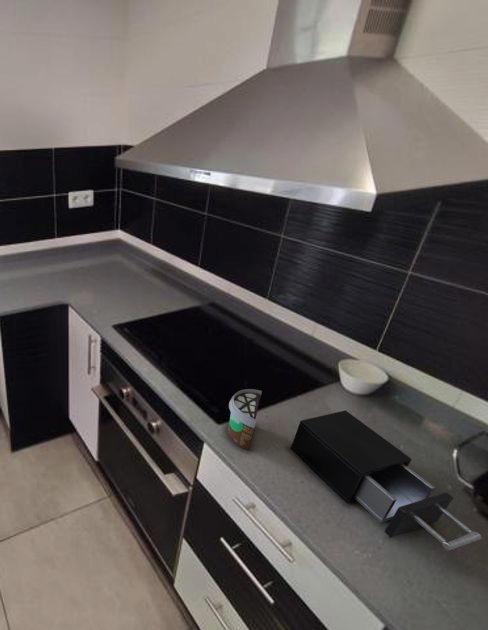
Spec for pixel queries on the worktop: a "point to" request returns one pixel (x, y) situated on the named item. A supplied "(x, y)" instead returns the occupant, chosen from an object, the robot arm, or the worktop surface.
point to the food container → (243, 416)
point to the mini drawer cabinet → (343, 451)
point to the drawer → (407, 504)
